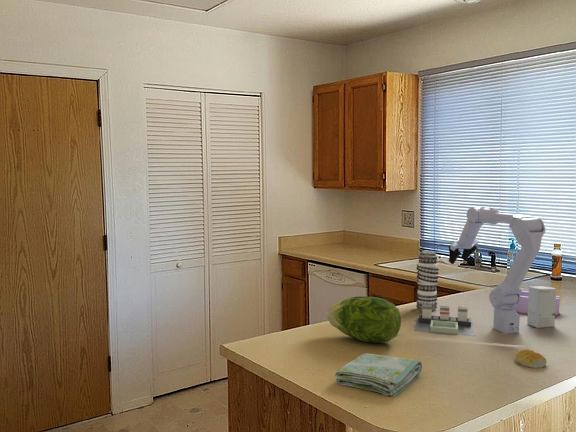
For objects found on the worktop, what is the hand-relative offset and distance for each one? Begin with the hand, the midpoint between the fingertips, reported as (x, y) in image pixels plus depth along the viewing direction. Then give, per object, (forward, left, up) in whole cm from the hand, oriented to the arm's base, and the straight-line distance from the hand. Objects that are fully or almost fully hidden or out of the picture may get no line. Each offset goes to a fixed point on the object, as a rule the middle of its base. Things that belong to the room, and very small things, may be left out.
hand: (457, 260), depth 227 cm
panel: (-21, +14, -22) cm, 33 cm away
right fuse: (-19, +6, -21) cm, 29 cm away
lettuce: (-31, +48, -22) cm, 61 cm away
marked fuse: (-16, +12, -21) cm, 29 cm away
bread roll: (-60, +3, -22) cm, 64 cm away
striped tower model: (+6, +10, -22) cm, 25 cm away
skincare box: (-21, -25, -22) cm, 39 cm away
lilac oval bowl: (+1, -35, -22) cm, 41 cm away
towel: (-67, +53, -23) cm, 88 cm away
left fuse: (-13, +18, -21) cm, 31 cm away
